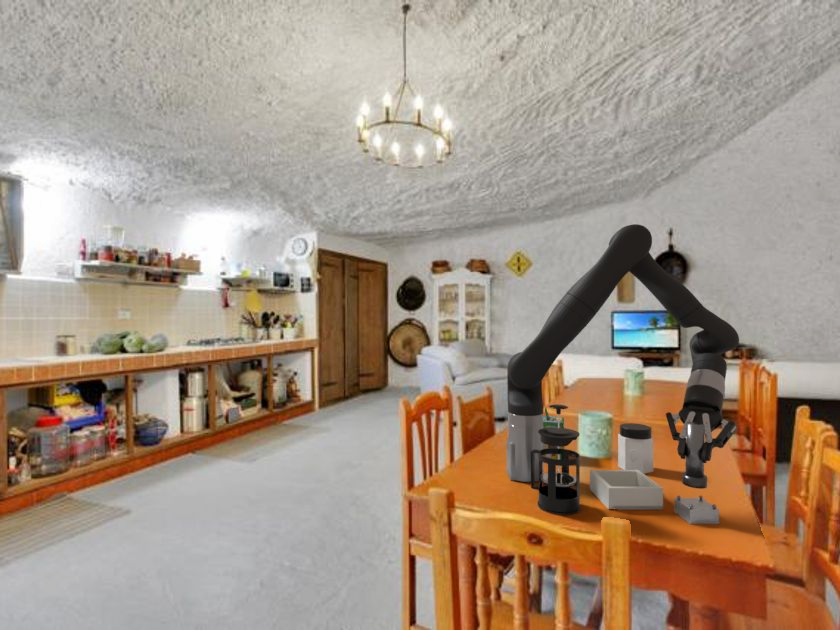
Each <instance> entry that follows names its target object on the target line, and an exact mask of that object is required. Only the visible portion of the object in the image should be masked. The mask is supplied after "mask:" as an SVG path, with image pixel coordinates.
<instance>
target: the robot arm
mask: <svg viewBox="0 0 840 630" xmlns="http://www.w3.org/2000/svg"><path fill="white" fill-rule="evenodd" d="M652 245H653V237H652V233H651V231H650V230H649V229H648V227H646V226H645V225H642V224H635V223H634V224H629V225H625V226H623V227H621V228H619V230H618V231H616V232H615V233H614V235H612V237H611V238H610V240H609V242H608V247H607V248H606V250H604V252H603V254H602V255H601V257H600V258H599V259H598V261H597V262H596V263H595V264H594V265H593V266H592V267H591V268H590V269H588V270H587V272H585V273H584V275H582V276H581V277H580V278H579V279H578V280H577V281H576V282H575V283H574V284H573V285H572V286H571V287H570V289H568V291H567V292H566V293H565V294H564V295H563V297H561V299H560V300H559V302H558V303H557V304H556V305H555V306H554V309H552V311H551V313H550V314H549V316H548V317H547V319H546V321H545V323H544V324H543V326H542V328H541V330H540V331H539V333H538V334H537V335H536V337H535V338H534V339H533V340H532V341H531V342H530V343H529V344H528V346H526V347H525V348H524V349H523V350H522V351H521V352H517V353H515V354H514V355H513V356H511V358H510V359H509V361H508V362H507V370H506V372H507V375H506V376H507V379H506V380H507V438H506V474H507V476H508V478H509V480H511V481H518V482H523V483H531V451H532V450H534V449H535V450H542V449H543V443H542V442H541V441H540V434H539V433H538V431H539V430H540V429H543V416H544V401H543V379H544V378H545V377H546V375H547V373H548V372H549V370H550V368H551V367H552V366H553V364H554V363H555V361H556V360H557V358H558V357H559V355H560V354H562V352H563V351H564V350H565V348H567V347H568V346H569V344H571V343H572V342H573V341H574V339H576V338H577V336H578V335H579V334H580V333H581V332H582V331H583V330H584V329H585V328H586V327H587V326H588V325H589V324H590V322H591V321H592V320H593V318H594V317H595V316H596V315H597V314H598V312H599V311H600V310H601V309H602V307H603V306H604V304H605V303H606V302H607V300H608V299H609V298H610V296H611V295H612V294H613V292H614V290H615V289H616V287H617V285H618V284H619V283H620V282H621V280H623V278H624V277H625V276H626V275H627V274H628V273H630V274H632V275H633V277H635V278H636V279H637V280H638V281H639V282H640V283H641V284H642V285H643V286H644V287H645V288H646V289H647V290H648V291H649V292H650V293H651V294H652V295H653V296H654V298H656V300H657V301H658V302H659V303H660V304H661V305H662V307H663V308H664V309H665V310H666V311H667V313H669V314H670V315H671V318H672V319H673V320H675V322H677V324H678V325H679V326H680V327H681V328H685V329H687V328H693V327H694V328H695V327H697V328H700V329H702V330H700V331H698V332H696V333H695V334H693V336H692V337H691V339H690V341H689V350H690V356H691V361H692V365H691V370H690V373H689V374H690V375H689V378H688V380H687V382H686V384H687V385H686V389H685V394H684V399H683V403H682V408H681V409H680V410H679V412H678V413H671V411H670V412H669V411H667V412H666V413H665V417H666V420H667V423H668V428H669V430H670V434H671V437H672V440H673V441H677V442H678V444H677V448H676V450H677V454H678V456H679V457H680V459H681V460H682V459H683V460H686V422H697V423H702V424H704V425H705V435H704V444H703V450H702V456H701V459H702V463H704V464H707V462H710V461H711V459H712V454H713V449H714V448H718V449H722V448H724V447H725V446H726V444H727V443H728V441H729V440H730V439H731V438H732V436H733V435H734V434H735V432H736V431H737V426H736V423H735V421H734V420H729V421H728V420H726V419H724V418H723V415H722V412H723V406H724V400H725V396H726V394H725V393H726V377H727V376H726V375H727V370H728V365H727V361H726V359H725V358H724V357H723V356H721V355H722V354H725V353H728V352H730V351H732V350H734V349H736V348H737V347H738V346H739V344H740V338H739V337H740V336H739V334H738V331H737V330H736V329H735V328H734V327H733V326H732V325H731V324H730V323H729V322H727V321H726V320H725V319H723V318H721V317H720V316H718V315H717V314H715V313H713V312H712V311H711V310H710V309H707V308H706V307H705V306H704V305H703V304H702V302H700V300H699V299H698V298H697V297H696V295H694V294H693V292H692V291H690V290H689V289H688V287H686V286H685V285H684V284H683V283H681V282H680V281H679V280H678V279H676V278H675V277H674V276H673V275H671V274H670V273H668V271H666V270H665V269H664V268H662V266H661V265H660V264H659V263H658V262H657V261H656V260H655V258H654V257H653V256H652V255H651V253H650V251H651V248H652ZM679 420H680V421H681V423H682V425H683V426H682V429H681V431H680V432H678V431H677V428H676V425H677V424H678V423H679ZM720 426H721V428H722V429H721V431H720V432H719V433H718V435H717V436H716V438H713V434H712V433H713V432H714V431H715V430H717V429H718V428H719V427H720ZM542 456H543V455H542ZM544 471H545V470H544V462H542V474H543V473H545V472H544ZM537 482H539V458H538V453H535V483H537Z"/></svg>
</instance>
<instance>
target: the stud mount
mask: <svg viewBox="0 0 840 630" xmlns="http://www.w3.org/2000/svg"><path fill="white" fill-rule="evenodd" d="M673 499H674V501H673V502H674V503H673V504H674V509H673V510H674V511H673V512H674V513H675V514H677V516H680V518H681V519H683V520H684V521H686V522H687V523H688V524H689V525H718V524H719V525H720V509H719V508H717V505H716V504H711V503H710V502H708V501H707V500H706V499H704V496H703V495H701V494H700V495H698V497H682V496H681V495H680V494H679V495H676V497H674V498H673Z"/></svg>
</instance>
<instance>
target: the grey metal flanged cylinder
mask: <svg viewBox="0 0 840 630" xmlns="http://www.w3.org/2000/svg"><path fill="white" fill-rule="evenodd" d="M704 443H705V425H704V424H702V423H697V422H686V457H685V471H683V472H682V475H681V476H682V477H681V481H682V482H681V483H682V484H683V485H684V486H686V487H688V488H693V489H700V490H701V489H707V488H708V476H707V475H705V463H702V459H701V456H702V450H703V444H704Z"/></svg>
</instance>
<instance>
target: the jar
mask: <svg viewBox="0 0 840 630" xmlns="http://www.w3.org/2000/svg"><path fill="white" fill-rule="evenodd" d="M617 455H618V457H617V466H618V468H620V470H639V471H640V472H642V473H643V474H644V475H646V474H649V473H653V472H654V437H652V427H651V426H650V425H645V424H641V423H635V422H633V423H632V422H631V423H629V422H625V423H622V424H621V423H620V425H619V433H618V434H617Z"/></svg>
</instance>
